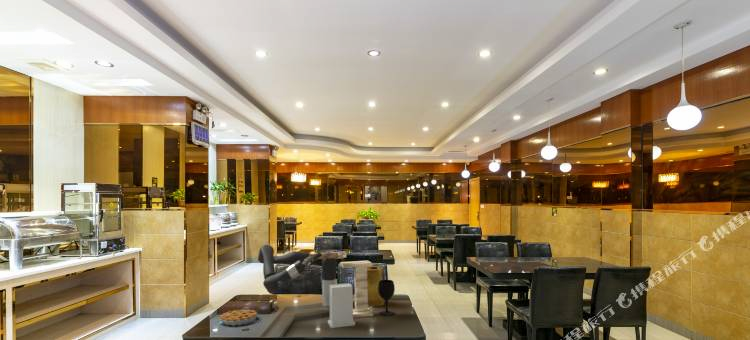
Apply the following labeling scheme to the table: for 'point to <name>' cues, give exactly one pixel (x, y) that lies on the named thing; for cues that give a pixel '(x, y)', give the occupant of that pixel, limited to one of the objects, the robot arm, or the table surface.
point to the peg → (330, 255)
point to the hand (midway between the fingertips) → (320, 253)
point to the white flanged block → (341, 305)
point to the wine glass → (386, 294)
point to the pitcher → (374, 285)
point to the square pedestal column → (360, 287)
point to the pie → (238, 317)
